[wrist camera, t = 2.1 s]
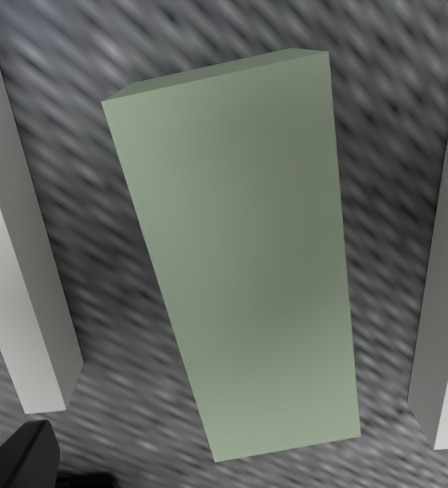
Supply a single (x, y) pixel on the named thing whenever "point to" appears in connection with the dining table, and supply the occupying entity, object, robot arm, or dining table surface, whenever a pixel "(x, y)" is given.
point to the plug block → (247, 243)
